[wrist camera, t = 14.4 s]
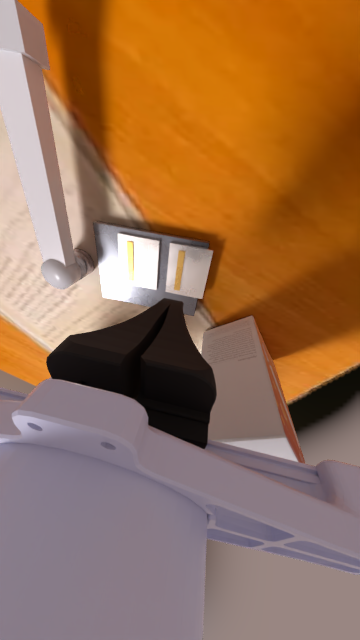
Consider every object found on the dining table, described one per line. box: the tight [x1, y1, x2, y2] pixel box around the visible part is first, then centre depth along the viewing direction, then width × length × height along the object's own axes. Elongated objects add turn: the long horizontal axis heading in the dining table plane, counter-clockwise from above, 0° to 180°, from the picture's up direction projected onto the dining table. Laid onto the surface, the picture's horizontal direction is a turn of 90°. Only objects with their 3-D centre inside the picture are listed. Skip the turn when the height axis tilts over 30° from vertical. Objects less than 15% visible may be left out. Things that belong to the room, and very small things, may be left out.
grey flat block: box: [73, 221, 213, 316], centre depth 19 cm, size 8×15×2 cm, turn 82°
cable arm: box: [0, 0, 81, 289], centre depth 14 cm, size 16×3×2 cm, turn 171°
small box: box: [201, 316, 305, 464], centre depth 19 cm, size 8×6×13 cm
